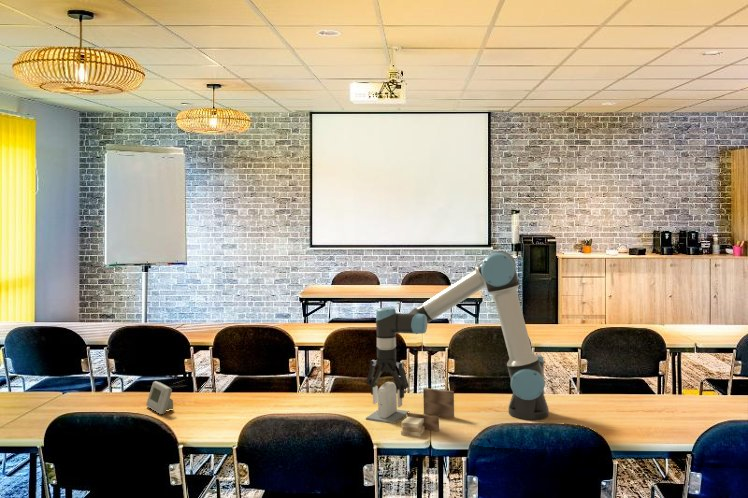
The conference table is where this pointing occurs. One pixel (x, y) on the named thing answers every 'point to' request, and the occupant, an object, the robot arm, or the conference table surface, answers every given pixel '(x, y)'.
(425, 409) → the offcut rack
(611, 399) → the conference table surface
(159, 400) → the digital clock
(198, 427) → the conference table surface
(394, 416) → the slate pad
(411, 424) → the offcut stack
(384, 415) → the white arched block
